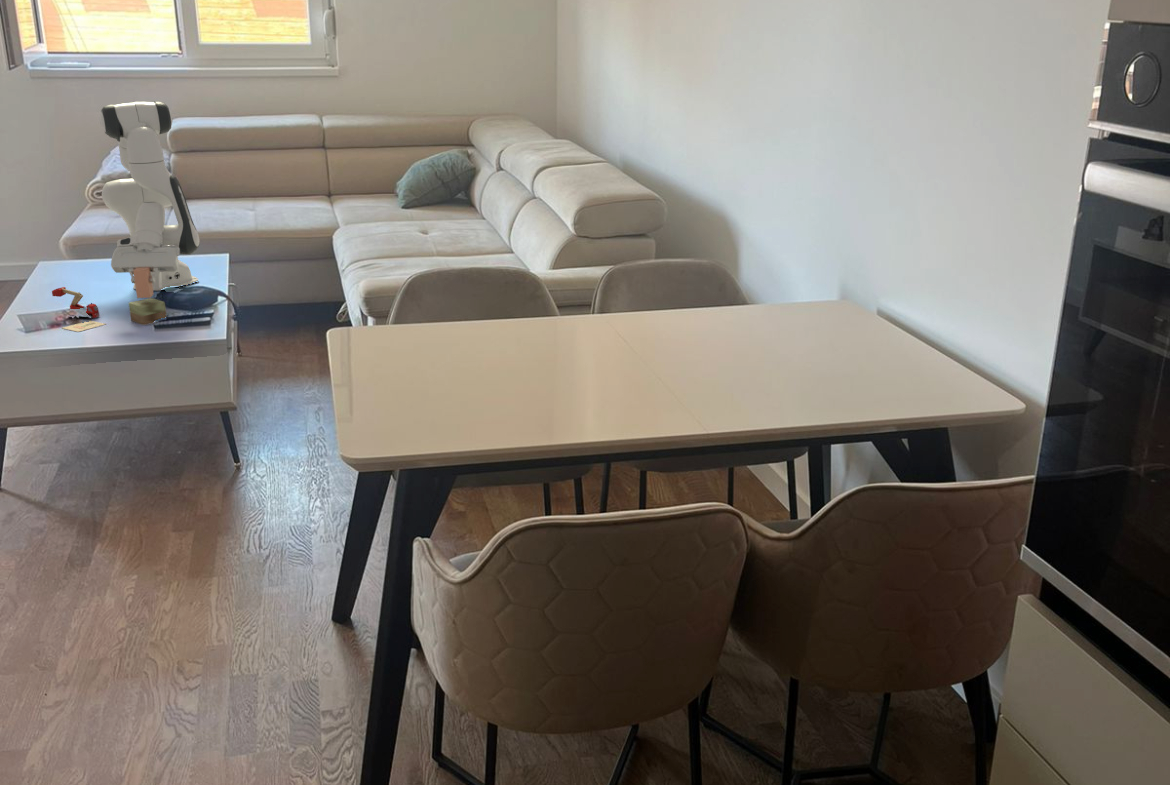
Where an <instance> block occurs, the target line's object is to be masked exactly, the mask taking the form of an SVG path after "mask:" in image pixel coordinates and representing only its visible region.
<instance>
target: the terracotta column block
mask: <svg viewBox="0 0 1170 785" xmlns="http://www.w3.org/2000/svg"><path fill="white" fill-rule="evenodd" d="M133 273H134V275H133V276H134V279H135V286H136V289H135V291H136V293H135V294H136V298H137V299H149V298H153V296H154V291H153V286H152V283H150V282H149V276H151V272H150V267H145V268H136V269H134V270H133Z"/></svg>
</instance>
